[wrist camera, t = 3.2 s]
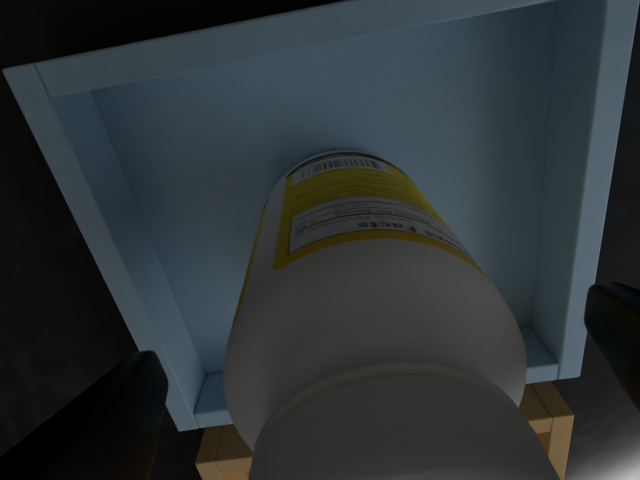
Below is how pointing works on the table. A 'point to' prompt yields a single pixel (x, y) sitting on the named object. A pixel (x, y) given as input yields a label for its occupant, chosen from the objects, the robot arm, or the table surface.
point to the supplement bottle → (373, 339)
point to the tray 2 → (536, 407)
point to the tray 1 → (339, 134)
